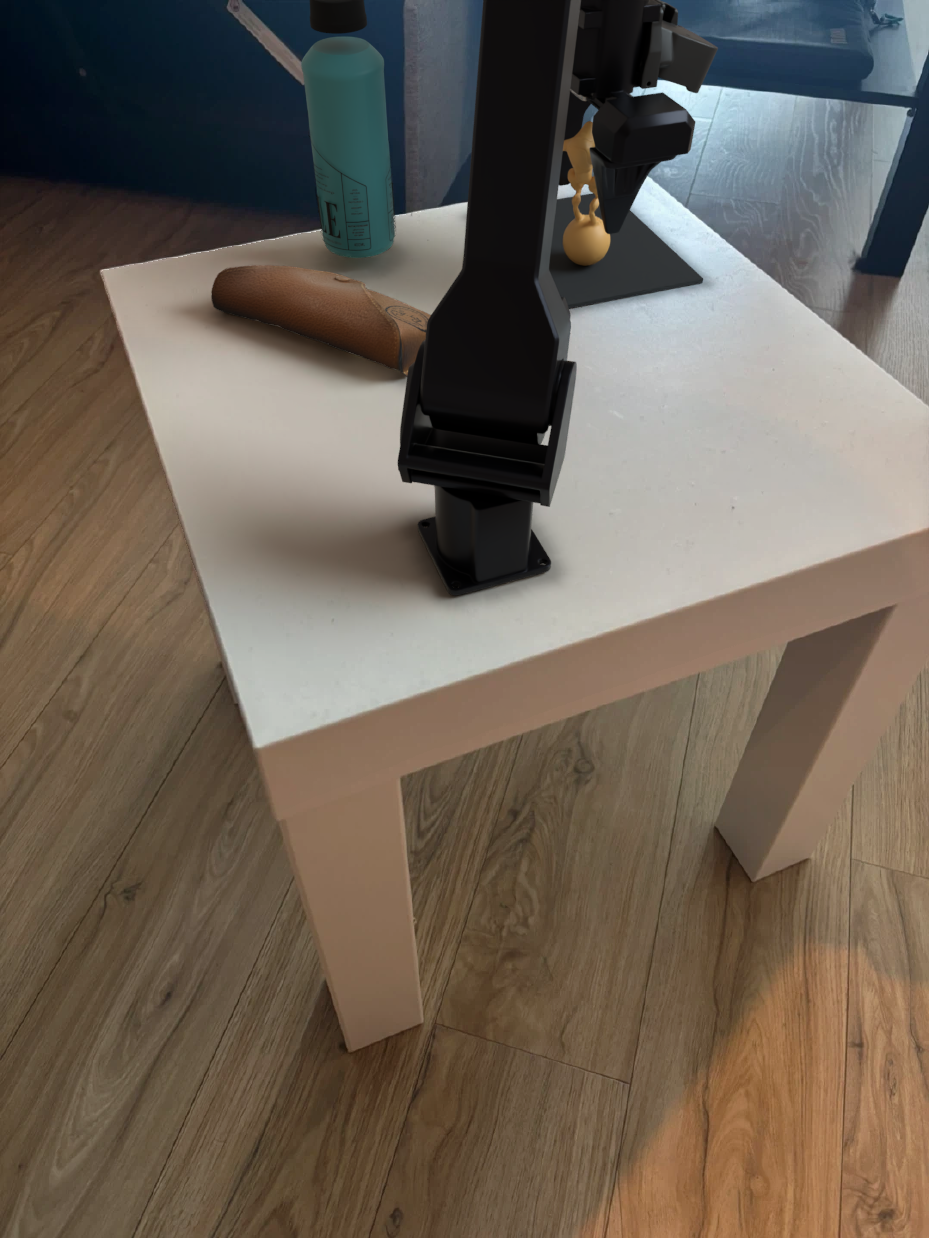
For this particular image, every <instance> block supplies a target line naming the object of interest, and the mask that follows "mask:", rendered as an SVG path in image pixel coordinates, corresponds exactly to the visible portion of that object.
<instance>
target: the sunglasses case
mask: <svg viewBox="0 0 929 1238" xmlns="http://www.w3.org/2000/svg"><path fill="white" fill-rule="evenodd" d="M210 292H211V295H210V296H211V297H210V298H211V303H212V305H213V308H214V309H215V310H216V311H220V312H222V313H225V314H230V315H232V316H235V317H239V318H244V319H246V320H247V319H248V320H250V321H257V322H260V323H261V324H265V325H270V326H274V327H278V328H281V329H283V330H284V331H288V332H290V333H293V334H295V335H299V336H301V337H304V338H307V339H310V340H314V341H316V342H320V343H323V344H325V345H327V346H329V347H333V348H335V349H338V350H340V351H343V352H346V353H349V354H352V355H354V356H358V357H360V358H363V359H365V360H368V361H371V362H373V363H377V364H379V365H381V366H384V367H386V368H389V369H391V370H397V371H399V372H400V373H401V374H403V375H404V376H406V377H407V375H408V369H409V366H410V365H411V364H413V363H414V362H415V360H416V356H417V353H418V350H419V347H420V345H421V344H422V342H423V341H424V340H425V338H426V328H427V322H428V319H429V317H430V316H431V314H429V313H427V312H425V311H423V310H422V309H419V308H417V307H414V306H412V305H410V304H407V303H406V302H403V301H400V300H398V299H396V298H394V297H391V296H388V295H385V294H382V293H379V292H377V291H375V290H371V289H368V288H367V284H366V282H363V281H360V280H357V279H354V278H352V277H351V278H350V277H348V276H345V275H342V274H339V273H336V272H331V271H325V270H316V269H311V268H304V267H298V266H297V267H296V266H289V265H271V264H262V265H261V264H259V265H257V264H252V265H241V266H233V267H232V266H231V267H227V268H224V269H223V270H221V271H220V272H218V274H217V275H216V277H215V278H214V280H213V284H212V287H211V291H210Z"/></svg>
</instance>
